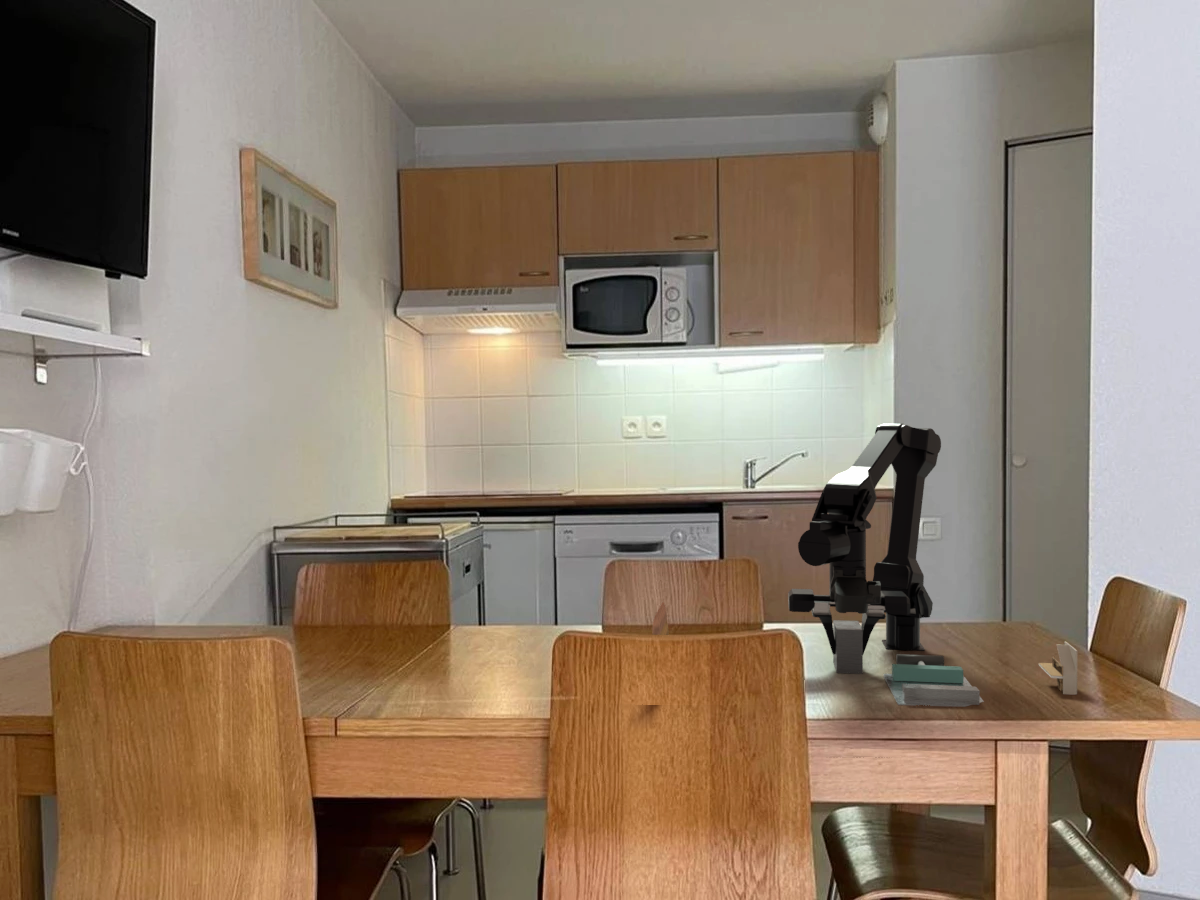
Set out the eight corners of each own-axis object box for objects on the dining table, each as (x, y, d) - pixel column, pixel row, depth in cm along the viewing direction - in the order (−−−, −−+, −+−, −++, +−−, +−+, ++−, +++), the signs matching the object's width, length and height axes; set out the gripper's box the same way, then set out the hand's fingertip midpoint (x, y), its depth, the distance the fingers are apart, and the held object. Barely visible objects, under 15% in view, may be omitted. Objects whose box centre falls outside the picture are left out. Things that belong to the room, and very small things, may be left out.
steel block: (836, 672, 143) (836, 629, 142) (833, 661, 149) (833, 620, 149) (862, 673, 142) (862, 630, 142) (858, 662, 148) (858, 620, 148)
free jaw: (886, 666, 144) (886, 652, 144) (952, 668, 142) (952, 654, 142) (893, 680, 136) (893, 666, 136) (963, 683, 134) (963, 668, 134)
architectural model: (1051, 701, 129) (1051, 650, 128) (1038, 687, 135) (1038, 638, 135) (1077, 702, 128) (1077, 651, 128) (1063, 688, 135) (1063, 639, 134)
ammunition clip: (662, 697, 131) (661, 615, 131) (650, 696, 132) (649, 615, 131) (670, 676, 142) (669, 601, 141) (658, 675, 142) (657, 600, 142)
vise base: (883, 676, 140) (883, 660, 140) (964, 679, 138) (964, 663, 138) (898, 707, 125) (898, 689, 125) (988, 711, 123) (989, 693, 123)
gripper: (790, 565, 138) (790, 665, 139) (916, 567, 135) (916, 670, 136) (788, 554, 149) (788, 647, 150) (904, 556, 146) (904, 651, 147)
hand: (847, 654), depth 145 cm, fingers closed on steel block, 4 cm apart
